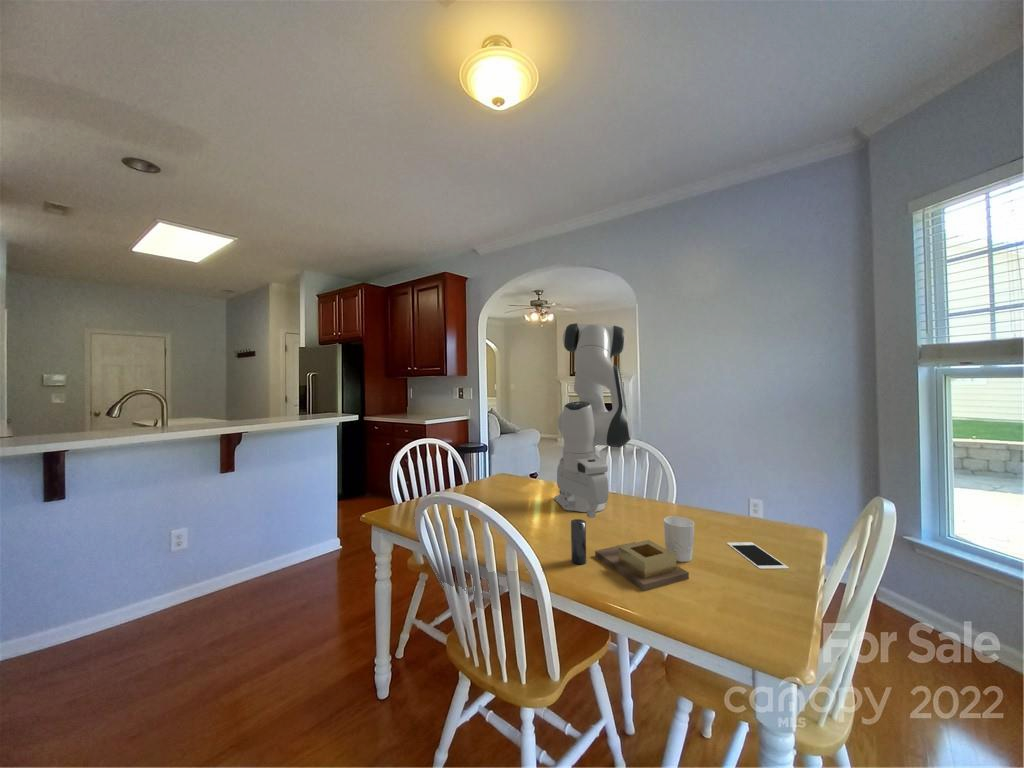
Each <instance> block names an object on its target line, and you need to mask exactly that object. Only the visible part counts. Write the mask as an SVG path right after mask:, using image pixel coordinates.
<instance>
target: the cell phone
mask: <svg viewBox="0 0 1024 768" xmlns="http://www.w3.org/2000/svg"><path fill="white" fill-rule="evenodd" d="M726 545H727V546H729V547H730V548H731V549H732V550H735V552H737V553H738V554H739V555H741V557H742V558H744V559H746V560H747V561H748V562H750V563H751V565H754V566H755V567H756V568H757V569H759V570H789V569H790V568H789V566H787V565H786V564H785V563H783V562H781V561H780V560H779V559H777V558H775V556H773V555H771V554H769V552H767V551H765V550H764V549H763V548H761V547H760V546H759V545H757V544H755V543H754V542H752V541H751V542H750V541H748V542H746V541H745V542H743V541H742V542H741V541H740V542H726Z"/></svg>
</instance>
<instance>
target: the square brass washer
mask: <svg viewBox="0 0 1024 768" xmlns="http://www.w3.org/2000/svg"><path fill="white" fill-rule="evenodd" d="M631 543H632V544H628V543H626V544H627V545H624V544H622V545H623V546H619V545H618V546H619V562H621V563H622V564H624V565H625V566H626V567H628V568H629V569H631V570H632V571H634V572H635V573H637V574H638V575H640V576H641V577H643V578H644V579H646V578H650V577H654V576H658V575H661V574H665V573H669V572H673V571H676V566H677V561H676V554H674V553H672V552H670V551H668V550H666V548H664V547H663V546H661V545H659V544H657V543H655V542H653V541H651V540H650V539H647V540H642V541H638V542H637V541H636V543H633V542H631Z"/></svg>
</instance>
